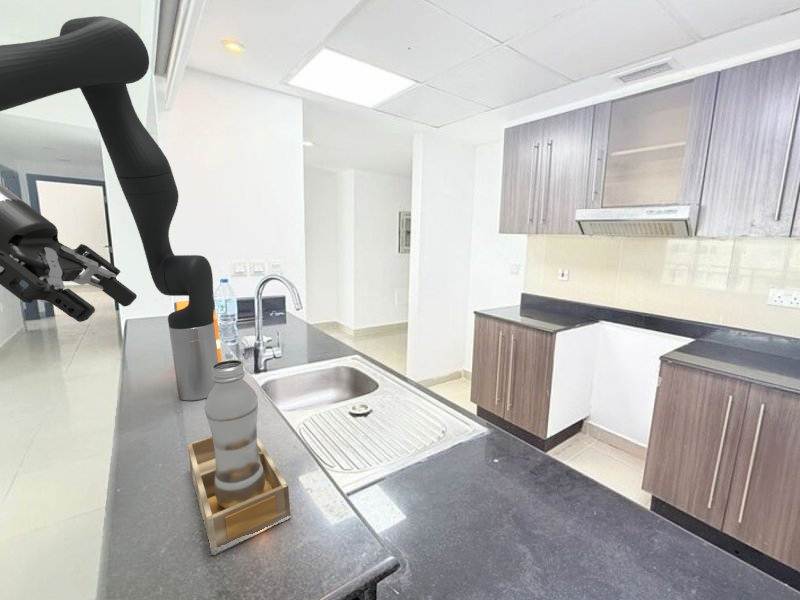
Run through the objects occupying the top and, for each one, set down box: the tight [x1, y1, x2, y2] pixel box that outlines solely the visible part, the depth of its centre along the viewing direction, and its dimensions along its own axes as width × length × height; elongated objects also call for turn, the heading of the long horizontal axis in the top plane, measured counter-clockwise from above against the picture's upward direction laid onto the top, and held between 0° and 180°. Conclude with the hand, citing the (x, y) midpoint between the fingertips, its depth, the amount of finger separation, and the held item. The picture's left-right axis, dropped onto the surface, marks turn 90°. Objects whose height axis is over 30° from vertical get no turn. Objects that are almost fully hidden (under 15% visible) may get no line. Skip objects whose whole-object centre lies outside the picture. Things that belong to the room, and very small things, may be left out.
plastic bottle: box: [204, 359, 265, 509], centre depth 48 cm, size 6×7×20 cm
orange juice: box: [176, 300, 223, 362], centre depth 101 cm, size 8×9×20 cm
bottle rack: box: [186, 435, 291, 549], centre depth 53 cm, size 20×10×5 cm, turn 37°
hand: (112, 308), depth 47 cm, fingers open, 8 cm apart
